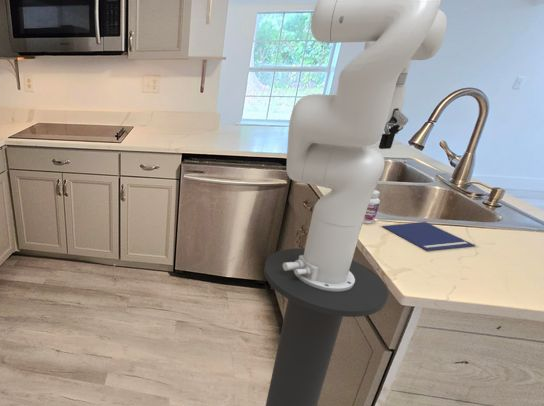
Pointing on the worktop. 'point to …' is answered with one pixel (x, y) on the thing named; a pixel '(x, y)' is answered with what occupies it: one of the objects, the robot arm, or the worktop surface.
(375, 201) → the pill bottle
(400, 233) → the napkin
